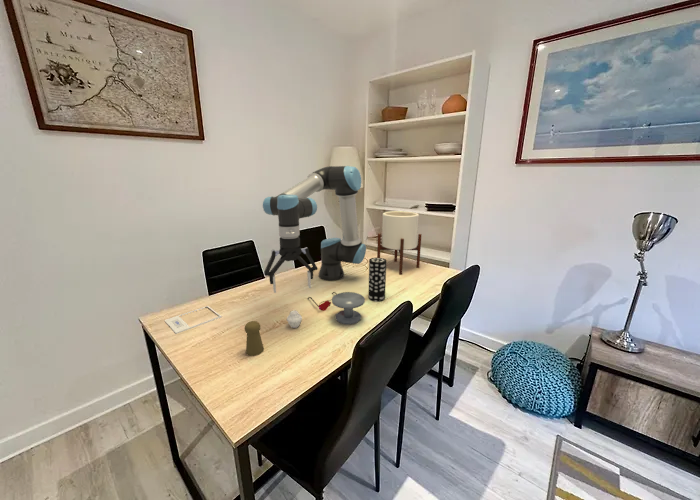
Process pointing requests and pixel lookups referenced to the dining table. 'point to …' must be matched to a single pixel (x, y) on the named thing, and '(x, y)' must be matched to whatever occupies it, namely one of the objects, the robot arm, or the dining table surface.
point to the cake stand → (348, 307)
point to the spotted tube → (377, 279)
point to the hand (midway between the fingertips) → (292, 289)
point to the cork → (253, 339)
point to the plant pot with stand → (400, 234)
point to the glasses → (323, 304)
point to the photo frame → (180, 325)
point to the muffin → (294, 319)
